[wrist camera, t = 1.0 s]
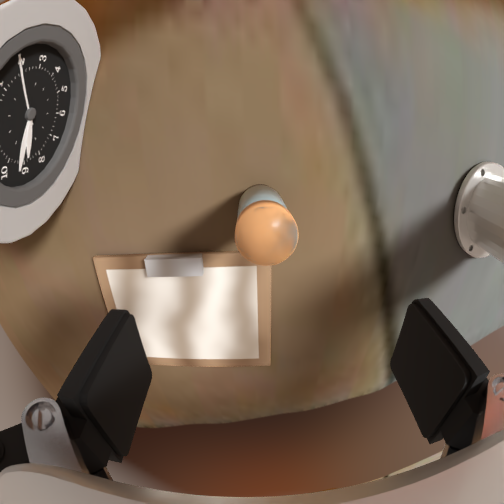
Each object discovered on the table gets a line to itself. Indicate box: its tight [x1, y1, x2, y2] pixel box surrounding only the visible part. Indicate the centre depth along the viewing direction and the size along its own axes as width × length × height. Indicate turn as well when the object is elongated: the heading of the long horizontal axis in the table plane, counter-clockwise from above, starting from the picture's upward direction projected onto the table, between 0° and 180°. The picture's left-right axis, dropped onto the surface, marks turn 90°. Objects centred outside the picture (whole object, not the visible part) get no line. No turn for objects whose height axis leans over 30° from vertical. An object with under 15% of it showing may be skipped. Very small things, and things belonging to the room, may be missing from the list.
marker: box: [235, 184, 298, 266], centre depth 23 cm, size 4×4×10 cm
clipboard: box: [93, 251, 271, 367], centre depth 32 cm, size 20×16×2 cm
